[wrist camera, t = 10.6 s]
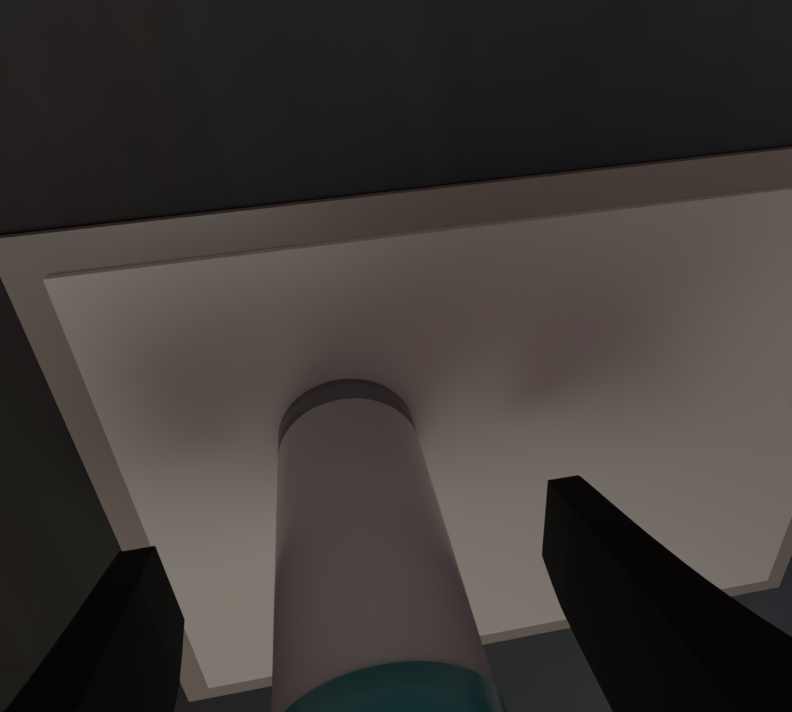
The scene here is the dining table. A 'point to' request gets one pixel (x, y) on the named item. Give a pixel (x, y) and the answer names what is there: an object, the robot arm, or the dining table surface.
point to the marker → (367, 566)
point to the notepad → (435, 373)
